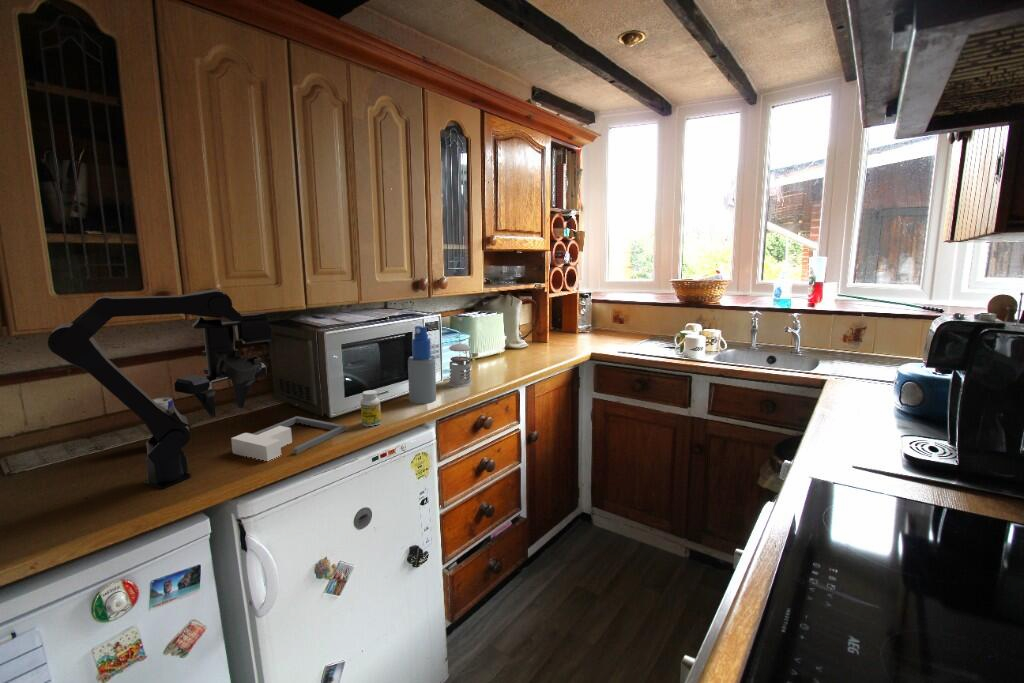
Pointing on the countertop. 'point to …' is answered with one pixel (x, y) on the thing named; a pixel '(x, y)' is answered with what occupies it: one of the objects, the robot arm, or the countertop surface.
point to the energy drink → (164, 402)
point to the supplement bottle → (370, 408)
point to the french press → (460, 366)
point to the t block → (262, 443)
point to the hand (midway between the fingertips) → (227, 412)
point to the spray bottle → (421, 369)
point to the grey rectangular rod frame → (316, 423)
